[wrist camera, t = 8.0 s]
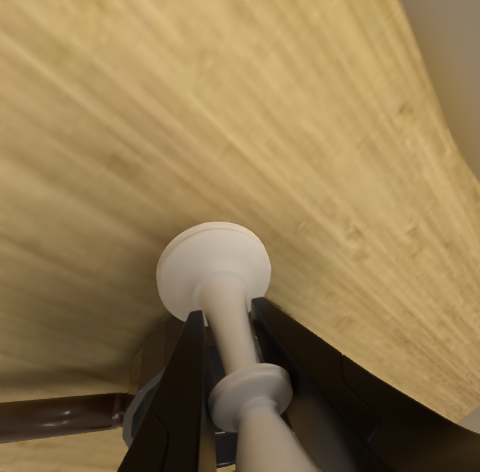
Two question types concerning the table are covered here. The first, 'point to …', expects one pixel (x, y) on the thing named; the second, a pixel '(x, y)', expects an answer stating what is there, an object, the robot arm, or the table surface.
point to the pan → (150, 372)
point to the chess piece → (234, 339)
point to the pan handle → (60, 416)
